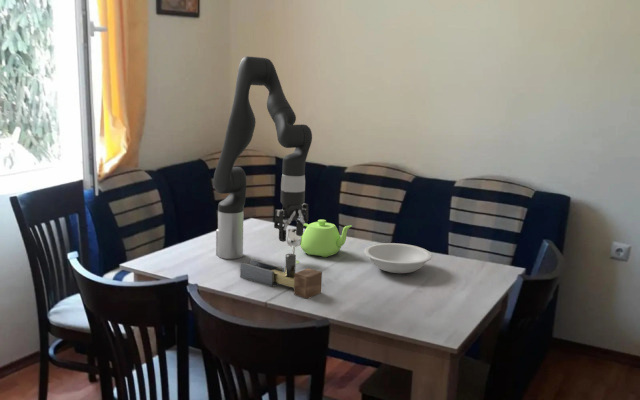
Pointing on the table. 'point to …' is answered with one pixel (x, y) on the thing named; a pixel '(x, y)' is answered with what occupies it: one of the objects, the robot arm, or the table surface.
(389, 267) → the soup bowl
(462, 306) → the table surface
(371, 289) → the table surface
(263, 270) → the sleeve
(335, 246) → the teapot
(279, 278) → the tube
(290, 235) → the wineglass
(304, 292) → the brown wooden cube
